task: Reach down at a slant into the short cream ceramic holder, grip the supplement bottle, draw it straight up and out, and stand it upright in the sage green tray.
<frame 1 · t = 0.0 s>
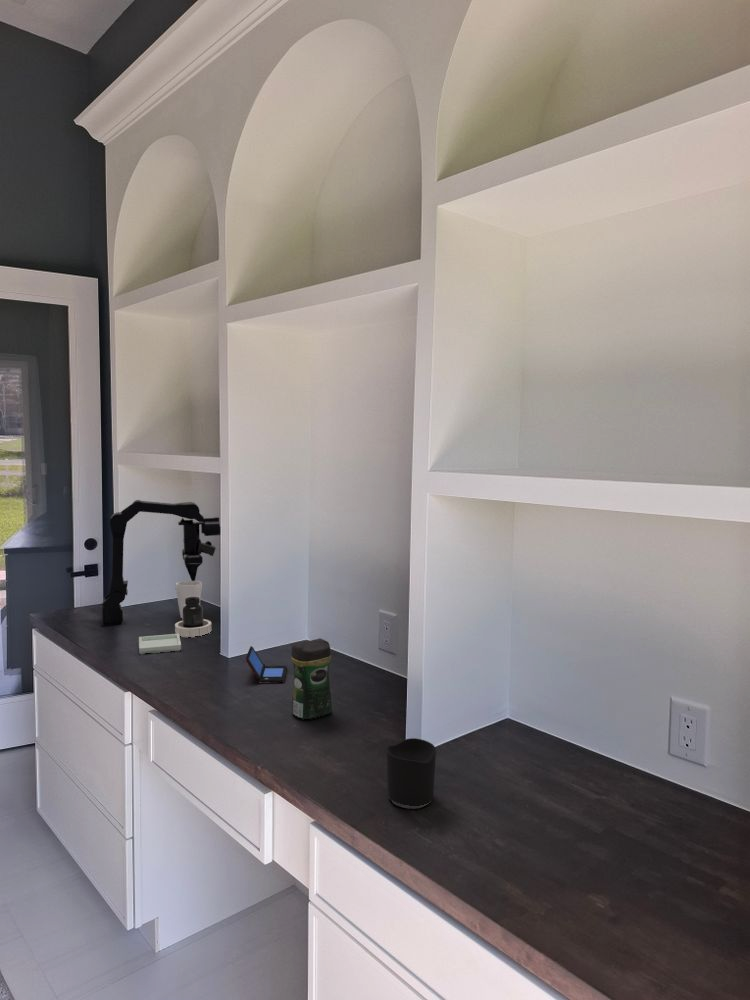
hand: (192, 578, 262), 15 cm above the worktop, tool pointing down, fingers open, 9 cm apart
foam cup: (189, 617, 263), on the worktop
handheld game console: (266, 677, 202), on the worktop
ceramic holder: (193, 632, 244), on the worktop
pen holder: (410, 799, 136), on the worktop
coffee jar: (311, 714, 176), on the worktop
sage tray: (159, 646, 228), on the worktop
supplement bottle: (193, 632, 244), resting in ceramic holder
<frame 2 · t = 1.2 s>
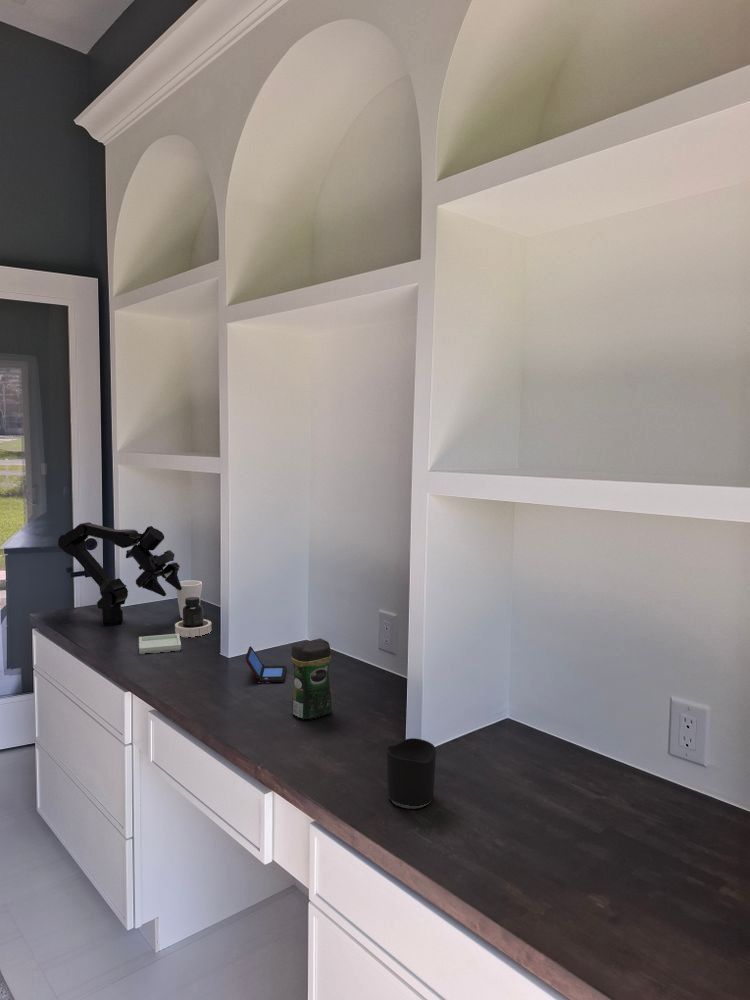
hand: (173, 592, 245), 13 cm above the worktop, tool tilted 45°, fingers open, 9 cm apart
nothing on the worktop moved.
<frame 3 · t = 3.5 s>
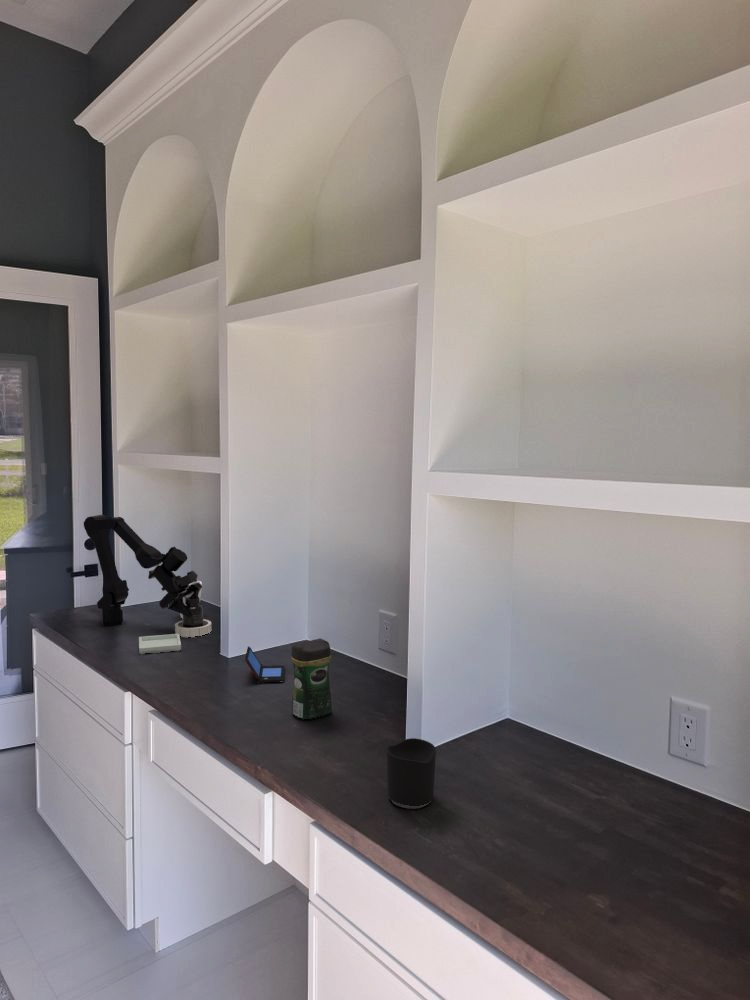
hand: (196, 613, 243), 7 cm above the worktop, tool tilted 45°, fingers closed on supplement bottle, 7 cm apart
supplement bottle: (193, 632, 244), resting in ceramic holder, touching gripper
everything else where it was.
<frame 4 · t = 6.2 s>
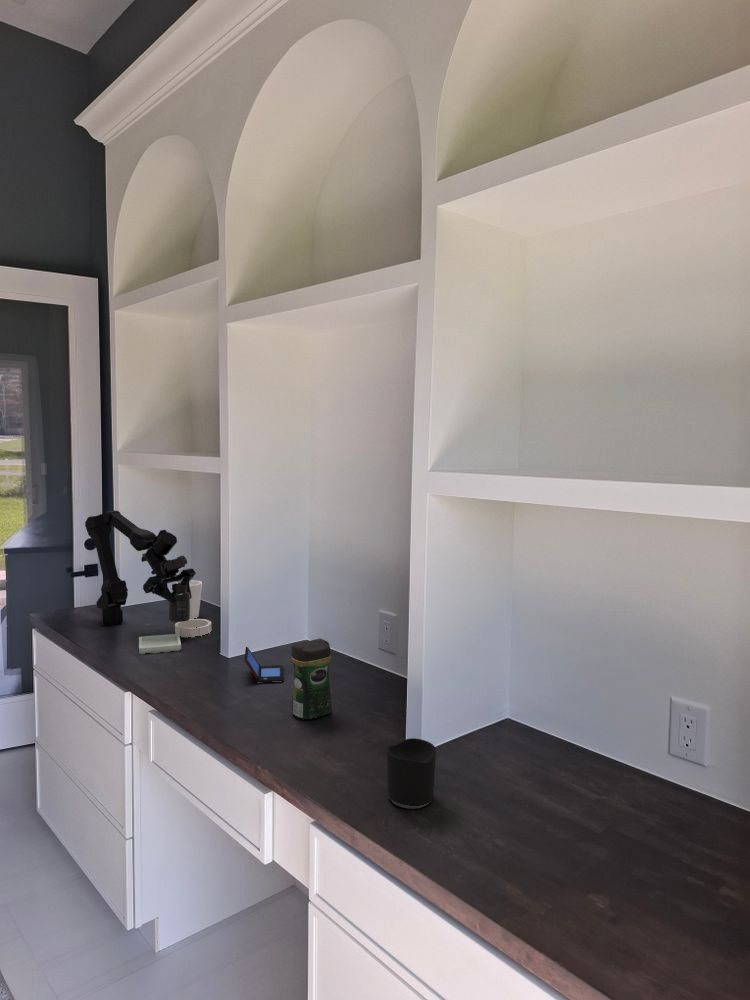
hand: (182, 600, 234), 13 cm above the worktop, tool tilted 45°, fingers closed on supplement bottle, 7 cm apart
supplement bottle: (179, 620, 235), point 6 cm above the worktop, touching gripper
everything else where it was.
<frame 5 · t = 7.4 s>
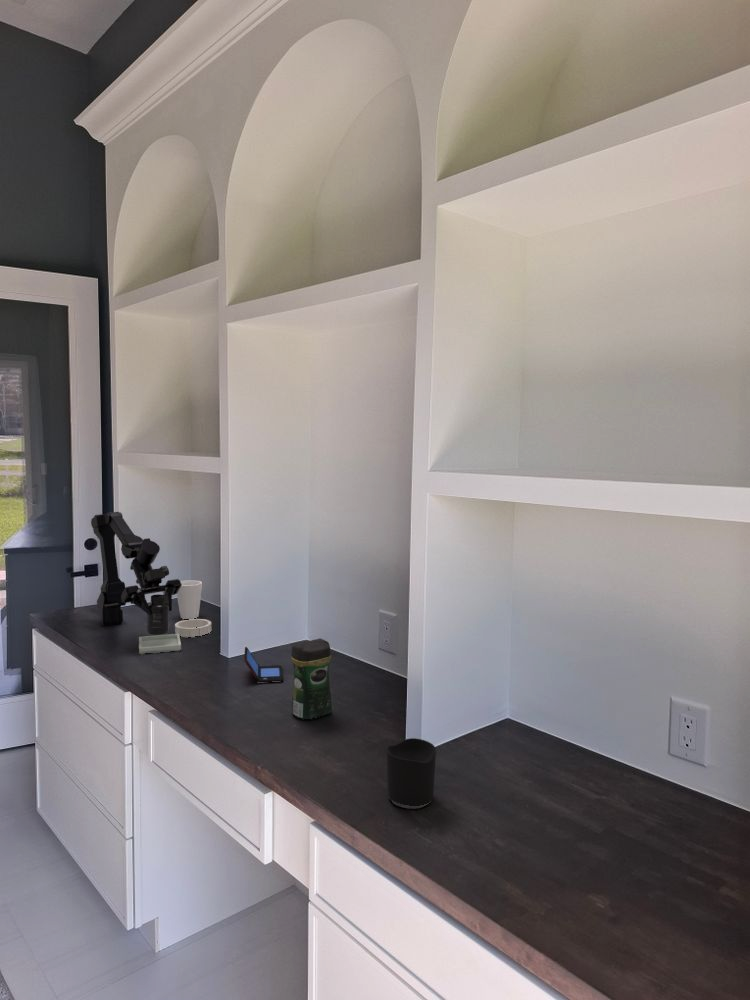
hand: (160, 612, 226), 12 cm above the worktop, tool tilted 45°, fingers closed on supplement bottle, 7 cm apart
supplement bottle: (157, 633, 227), point 5 cm above the worktop, touching gripper
everything else where it was.
when the fingers open (9 cm above the worktop, at t = 8.5 s): supplement bottle stays where it is, resting on sage tray.
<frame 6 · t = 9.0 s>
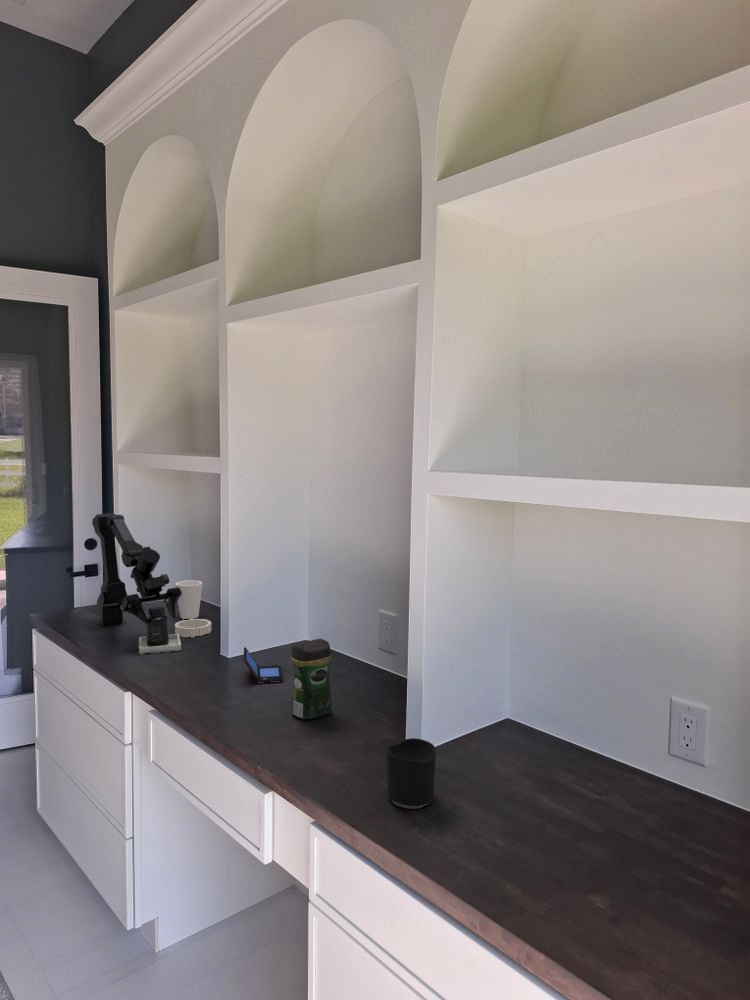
hand: (161, 620, 226), 9 cm above the worktop, tool tilted 45°, fingers open, 9 cm apart
supplement bottle: (157, 645, 227), point 1 cm above the worktop, touching sage tray
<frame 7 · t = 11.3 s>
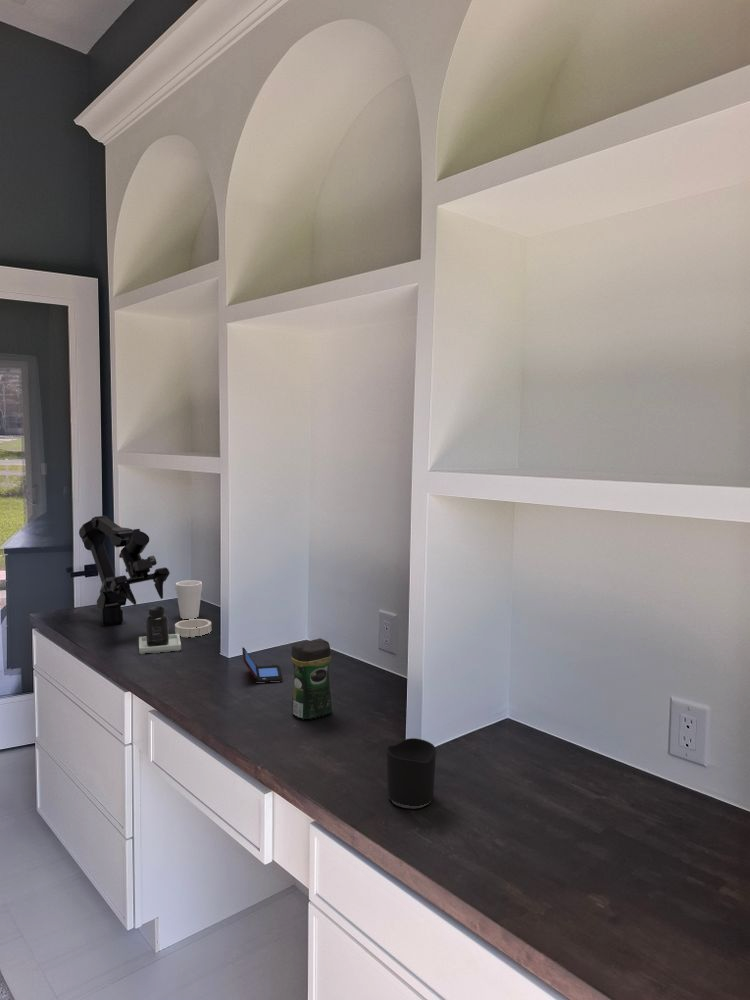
hand: (149, 601, 234), 13 cm above the worktop, tool tilted 40°, fingers open, 9 cm apart
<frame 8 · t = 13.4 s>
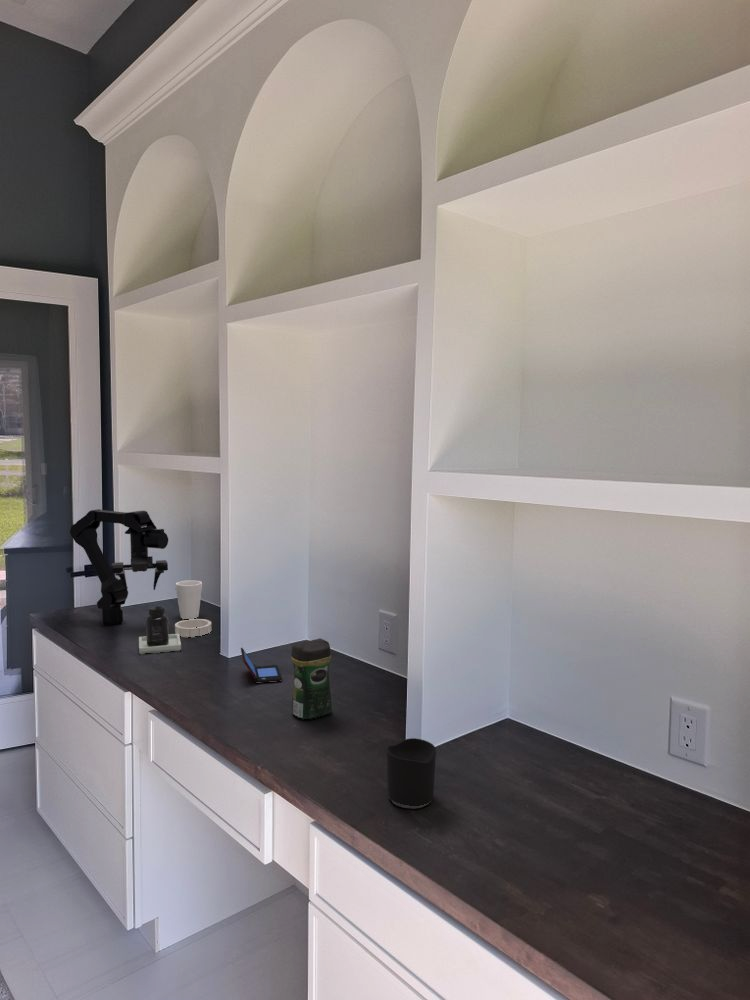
hand: (140, 590, 249), 13 cm above the worktop, tool pointing down, fingers open, 9 cm apart
at the end: supplement bottle inside the target area on the sage tray (0.6 cm from its centre), point 0.6 cm above the sage tray's base; supplement bottle tilted 0°; the gripper is holding nothing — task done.
